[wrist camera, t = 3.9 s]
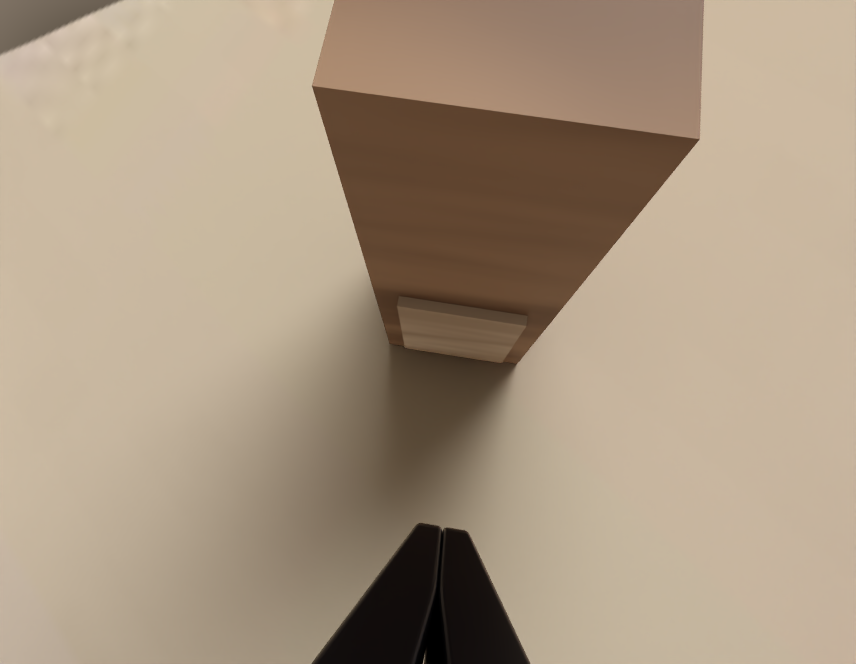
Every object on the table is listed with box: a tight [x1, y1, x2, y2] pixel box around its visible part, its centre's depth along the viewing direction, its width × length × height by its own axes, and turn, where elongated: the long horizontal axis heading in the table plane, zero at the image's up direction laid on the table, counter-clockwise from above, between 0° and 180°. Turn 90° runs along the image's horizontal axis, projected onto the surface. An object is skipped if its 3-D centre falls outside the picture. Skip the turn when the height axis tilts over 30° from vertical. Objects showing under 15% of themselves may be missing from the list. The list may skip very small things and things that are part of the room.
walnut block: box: [312, 0, 704, 364], centre depth 14 cm, size 5×5×14 cm
